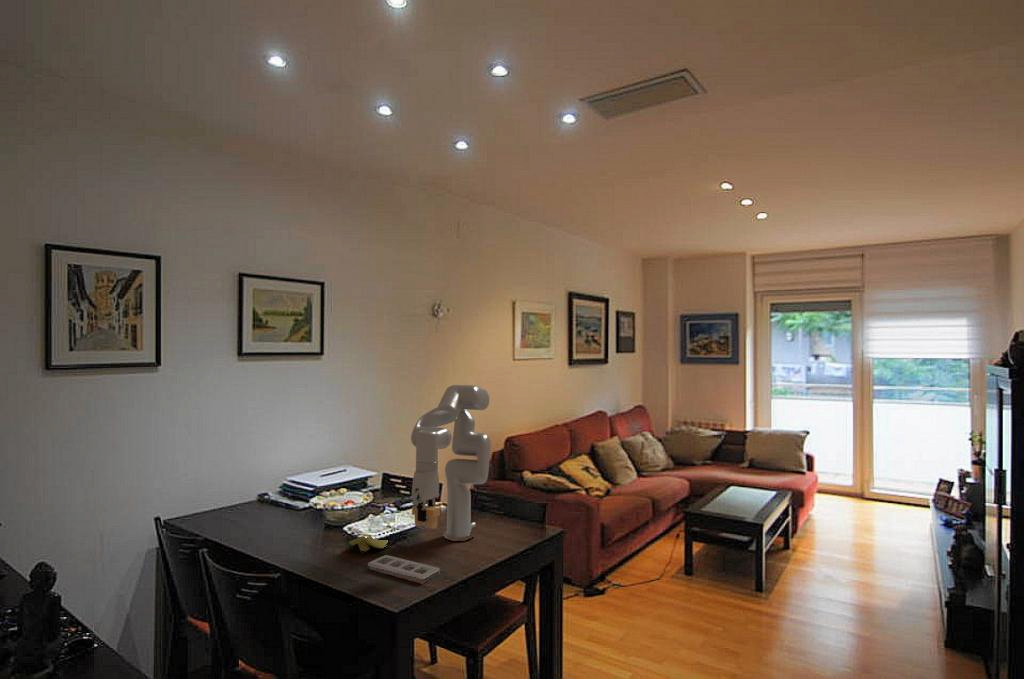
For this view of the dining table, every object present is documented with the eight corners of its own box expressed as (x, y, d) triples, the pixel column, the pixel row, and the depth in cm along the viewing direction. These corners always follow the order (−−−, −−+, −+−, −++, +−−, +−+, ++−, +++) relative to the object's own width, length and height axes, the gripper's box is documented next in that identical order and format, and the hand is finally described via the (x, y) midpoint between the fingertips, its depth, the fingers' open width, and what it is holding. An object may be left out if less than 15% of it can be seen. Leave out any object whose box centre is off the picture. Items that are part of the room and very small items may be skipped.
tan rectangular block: (419, 522, 212) (419, 504, 212) (439, 526, 208) (440, 507, 208) (412, 525, 209) (412, 506, 209) (432, 529, 204) (433, 510, 204)
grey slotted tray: (385, 561, 217) (385, 554, 217) (439, 575, 205) (439, 568, 205) (368, 569, 209) (368, 562, 209) (422, 584, 197) (422, 577, 197)
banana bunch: (372, 532, 243) (392, 523, 240) (378, 549, 241) (398, 541, 239) (343, 544, 224) (365, 534, 222) (350, 563, 223) (371, 554, 220)
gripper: (432, 461, 218) (431, 512, 217) (402, 469, 203) (401, 523, 203) (449, 463, 214) (448, 515, 214) (420, 471, 200) (419, 527, 199)
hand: (425, 519), depth 208 cm, fingers closed on tan rectangular block, 3 cm apart
